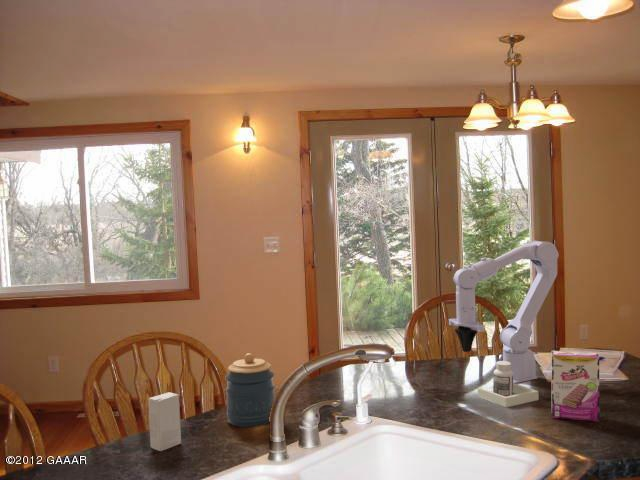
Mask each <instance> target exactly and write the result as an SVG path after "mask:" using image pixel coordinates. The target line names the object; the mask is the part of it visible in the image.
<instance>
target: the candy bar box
mask: <svg viewBox="0 0 640 480" xmlns="http://www.w3.org/2000/svg"><path fill="white" fill-rule="evenodd" d="M550 354H551V356H550V357H551V359H550V360H551V361H550V362H551V368H550V369H551V377H550V378H551V389H550V391H551V417H552V419H561V420H571V421H573V420H575V421H586V422H598V423H599V422H600V357H599V353H598V352H583V351H582V352H581V351H566V350H565V351H563V350H551V353H550Z"/></svg>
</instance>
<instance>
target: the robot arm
mask: <svg viewBox="0 0 640 480" xmlns="http://www.w3.org/2000/svg"><path fill="white" fill-rule="evenodd" d="M559 256H560V254H559V252H558V249H557V247H556V245H555V244H554V243H552V242H550V241H539V240H531V241H530V242H526V243H522V244H521V245H519V246H517V247H515V248H513V249H511V250H509V251H507V252H505V253H504V254H501V255H500V256H498V257H496V258H494V259H493V258H491V257H487V258H486V257H482V258H481V257H480V261H478V262H476V263H474V264H467V265H466V268H460V269H457V270H456V272H455V273H454V275H453V277H452V281H453V283H454V284H455V303H456V304H455V306H456V307H455V308H456V317H455V318H448V325H449V326H454V327H455V326H456V327H458V328H454V332H455V334H456V335H457V337H458V339H459V342H460V346H461V349H462V352H464V353H469V352H471V351H472V347H473V343H474V339H475V338H476V335H477V333H478V332H479V333H483V332H486V330H485V328H486V326H485V324H482V323H480V322H478V321H476V293H475V291H476V289H475V287H476V286H477V284H478V283H480V282H484V281H485V280H487V279H489V278H491V277H494V276H496V275H497V274H498V272H499V269H502V268H504V267H506V266H507V267H508V266H509V265H511V264H513V263H516V262H519V261H521V260H529V261H530V262H531V263H532V264H533V265H534V267H535V270H536V273H537V274H536V276H535V278H534V280H533V282H532V284H531V285H530V287H529V289H528V292H527V294H526V295H525V297H524V300H523V301H522V303H521V305H520V307H519V310H518V311H517V313H516V315H515V317H514V318H513V319H511V320H510V321H509V322H508V324H507V325H506V327H504V328H503V329H502V330H501V332H500V334H499V339H500V342H501V343H502V344H503V347H502V361H507V362H510V363H511V369H510V370H512V372H513V383H515V384H519V383H523V382H527V381H532V380H537V379H538V376H536V356H535V353H534V352H533V350H531V349H530V348H529V347H530V346H531V345H530V344H531V337H532V334H533V329H532V325H533V324H534V321H535V319H536V318H537V315H538V313H539V311H540V310H541V308H542V305H543V304H544V301H545V299H546V298H547V296H548V294H549V292H550V291H551V288H552V287H553V284H554V282H555V280H556V278H557V276H558V258H559Z"/></svg>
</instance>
